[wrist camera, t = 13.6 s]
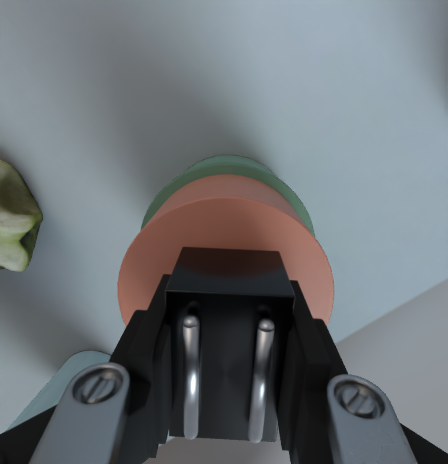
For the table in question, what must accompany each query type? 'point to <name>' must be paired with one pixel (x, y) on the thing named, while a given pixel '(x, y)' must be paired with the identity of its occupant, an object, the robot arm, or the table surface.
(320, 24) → the table surface
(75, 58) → the table surface
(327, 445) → the robot arm
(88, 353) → the cup
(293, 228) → the cup stack
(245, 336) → the clip
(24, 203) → the fruit
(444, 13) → the table surface
